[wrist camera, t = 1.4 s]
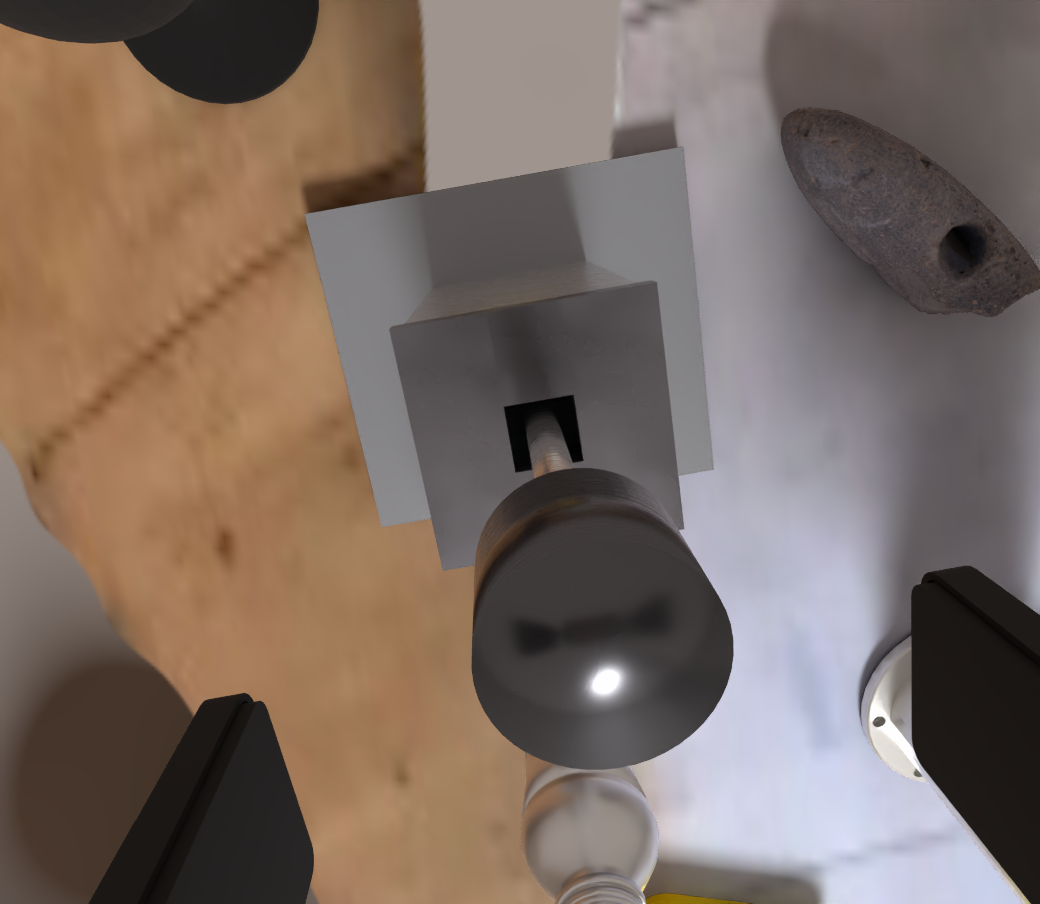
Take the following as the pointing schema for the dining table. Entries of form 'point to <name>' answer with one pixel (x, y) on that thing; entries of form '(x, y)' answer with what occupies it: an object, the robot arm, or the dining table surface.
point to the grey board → (498, 251)
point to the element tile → (685, 900)
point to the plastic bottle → (587, 833)
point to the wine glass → (186, 38)
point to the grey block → (533, 389)
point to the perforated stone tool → (906, 216)
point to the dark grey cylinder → (592, 616)
